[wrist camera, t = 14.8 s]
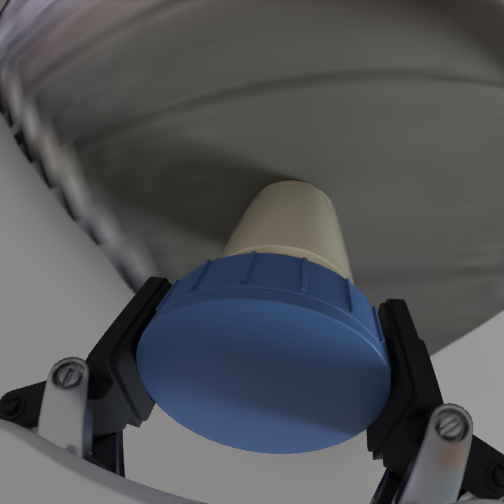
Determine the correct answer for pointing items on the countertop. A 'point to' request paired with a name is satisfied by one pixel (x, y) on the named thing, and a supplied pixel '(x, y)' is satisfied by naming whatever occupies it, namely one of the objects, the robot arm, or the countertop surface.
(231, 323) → the jar lid
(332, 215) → the jar
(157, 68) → the countertop surface
